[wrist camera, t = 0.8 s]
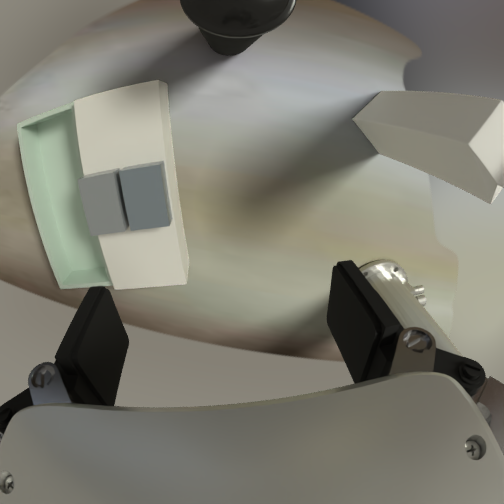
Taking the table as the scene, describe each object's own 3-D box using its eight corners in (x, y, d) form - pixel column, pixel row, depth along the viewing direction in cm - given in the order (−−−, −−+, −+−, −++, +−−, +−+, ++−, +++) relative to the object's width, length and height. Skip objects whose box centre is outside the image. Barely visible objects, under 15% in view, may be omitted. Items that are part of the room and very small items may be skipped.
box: (90, 101, 25) (75, 101, 22) (123, 268, 36) (114, 285, 32) (34, 120, 25) (16, 124, 21) (71, 273, 35) (60, 289, 32)
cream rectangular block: (167, 84, 26) (158, 79, 22) (189, 262, 36) (186, 284, 32) (93, 100, 25) (73, 100, 21) (124, 268, 36) (114, 289, 31)
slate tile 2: (119, 167, 25) (113, 172, 23) (130, 223, 28) (125, 231, 26) (85, 174, 25) (77, 179, 23) (97, 228, 28) (90, 236, 26)
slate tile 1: (164, 160, 25) (160, 164, 24) (172, 218, 28) (169, 226, 26) (125, 166, 25) (118, 171, 23) (135, 223, 28) (130, 230, 26)
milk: (351, 119, 30) (501, 154, 11) (381, 90, 28) (533, 104, 9) (379, 154, 32) (518, 222, 13) (407, 126, 31) (549, 171, 11)
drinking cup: (207, 76, 26) (190, 23, 9) (185, 20, 23) (148, -77, 5) (274, 56, 26) (353, -6, 8) (252, 1, 22) (296, -102, 5)
